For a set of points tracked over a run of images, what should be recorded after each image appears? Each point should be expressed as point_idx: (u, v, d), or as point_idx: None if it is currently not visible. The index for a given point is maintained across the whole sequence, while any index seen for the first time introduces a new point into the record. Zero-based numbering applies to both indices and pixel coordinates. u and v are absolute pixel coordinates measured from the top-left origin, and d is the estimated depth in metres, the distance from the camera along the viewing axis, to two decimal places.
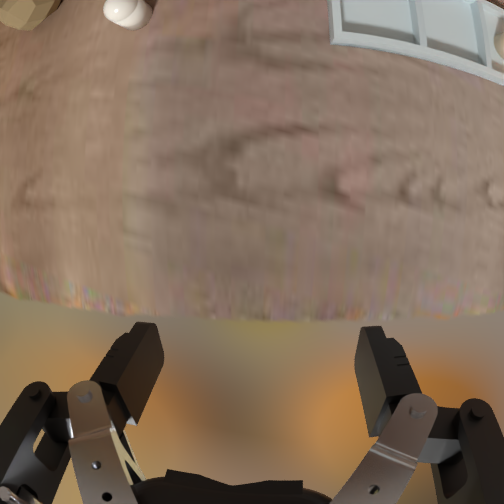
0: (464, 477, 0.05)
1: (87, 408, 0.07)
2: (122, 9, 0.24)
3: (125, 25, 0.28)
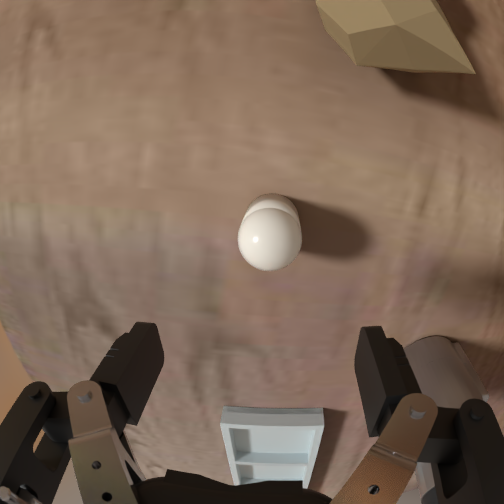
0: (464, 477, 0.05)
1: (87, 408, 0.07)
2: (249, 260, 0.21)
3: None
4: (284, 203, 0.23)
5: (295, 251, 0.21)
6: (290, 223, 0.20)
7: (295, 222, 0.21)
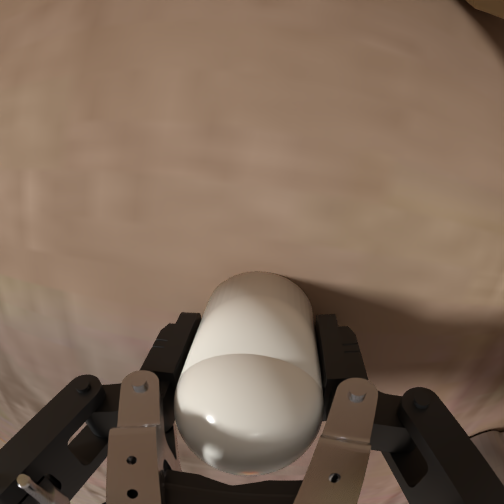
0: (424, 463, 0.06)
1: (139, 399, 0.07)
2: None
3: None
4: (285, 313, 0.10)
5: (307, 449, 0.07)
6: (300, 404, 0.07)
7: (311, 388, 0.08)
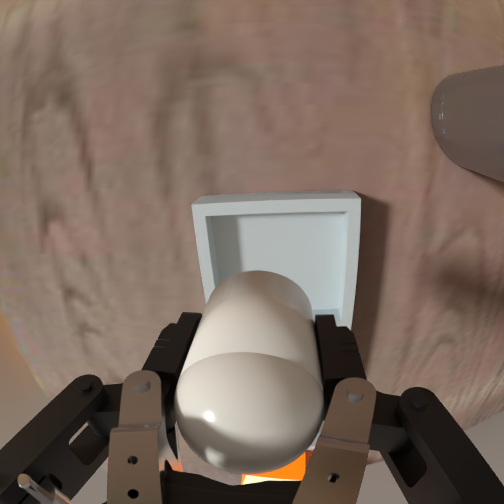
0: (422, 462, 0.06)
1: (141, 398, 0.07)
2: None
3: None
4: (285, 312, 0.10)
5: (307, 448, 0.07)
6: (301, 402, 0.07)
7: (312, 387, 0.08)
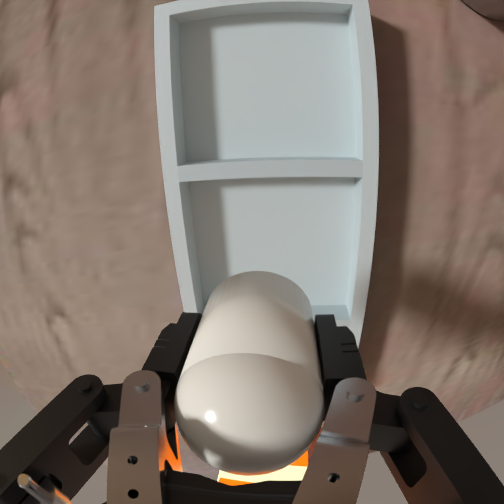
0: (422, 462, 0.06)
1: (141, 398, 0.07)
2: None
3: None
4: (285, 312, 0.10)
5: (308, 448, 0.07)
6: (301, 403, 0.07)
7: (312, 387, 0.08)
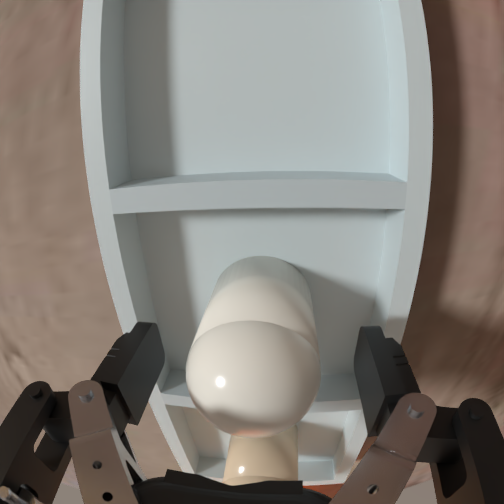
0: (463, 477, 0.05)
1: (88, 407, 0.07)
2: None
3: None
4: (285, 290, 0.11)
5: (306, 411, 0.09)
6: (300, 365, 0.08)
7: (309, 353, 0.09)
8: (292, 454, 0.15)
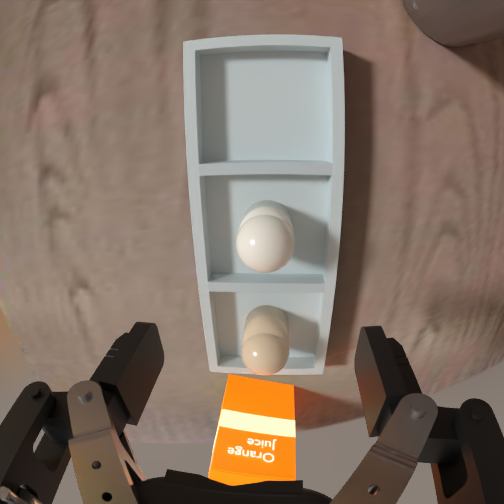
0: (464, 477, 0.05)
1: (87, 408, 0.07)
2: (246, 263, 0.23)
3: None
4: (279, 210, 0.25)
5: (289, 255, 0.23)
6: (285, 230, 0.22)
7: (289, 228, 0.23)
8: (284, 328, 0.29)
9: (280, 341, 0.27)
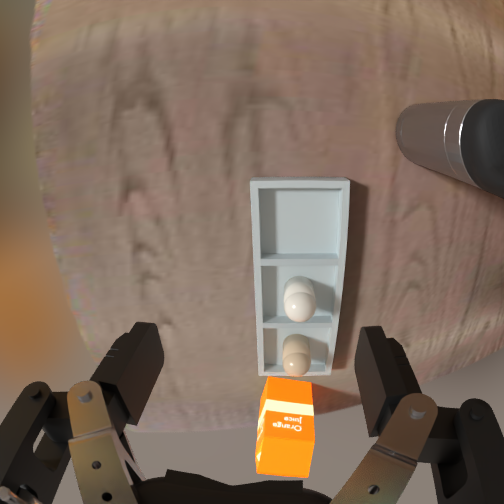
0: (464, 477, 0.05)
1: (87, 408, 0.07)
2: (290, 318, 0.41)
3: None
4: (307, 285, 0.43)
5: (313, 313, 0.41)
6: (311, 301, 0.41)
7: (313, 299, 0.41)
8: (307, 348, 0.48)
9: (306, 356, 0.45)
